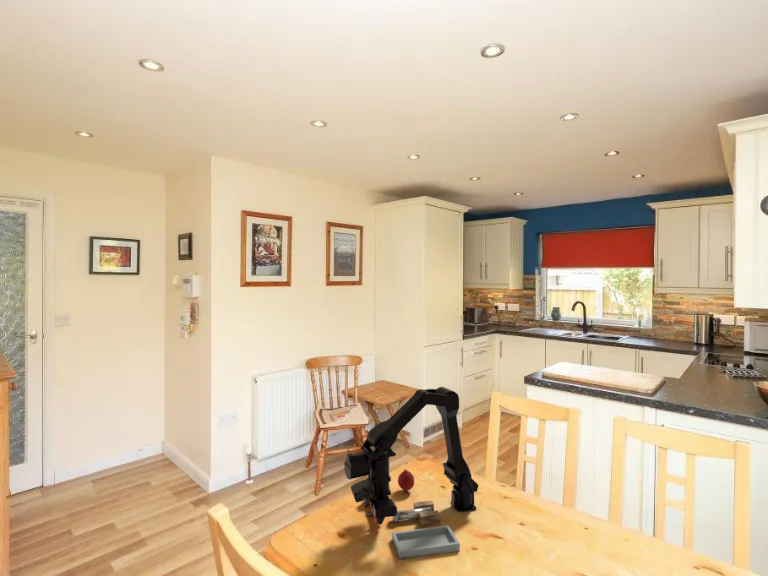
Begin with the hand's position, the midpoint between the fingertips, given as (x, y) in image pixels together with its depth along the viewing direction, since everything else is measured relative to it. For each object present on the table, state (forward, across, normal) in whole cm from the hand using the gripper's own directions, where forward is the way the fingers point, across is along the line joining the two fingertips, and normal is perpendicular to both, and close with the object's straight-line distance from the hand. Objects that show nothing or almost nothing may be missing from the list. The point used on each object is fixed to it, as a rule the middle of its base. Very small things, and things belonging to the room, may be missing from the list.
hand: (379, 523), depth 120 cm
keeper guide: (+1, -11, 0) cm, 11 cm away
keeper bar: (+1, -9, 0) cm, 9 cm away
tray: (+2, +10, +11) cm, 15 cm away
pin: (+2, -2, +11) cm, 12 cm away
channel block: (+2, -2, +15) cm, 16 cm away
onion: (+2, -19, +14) cm, 24 cm away
